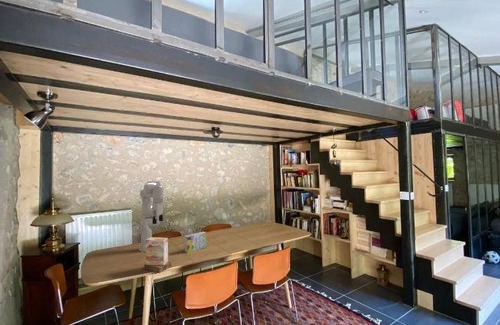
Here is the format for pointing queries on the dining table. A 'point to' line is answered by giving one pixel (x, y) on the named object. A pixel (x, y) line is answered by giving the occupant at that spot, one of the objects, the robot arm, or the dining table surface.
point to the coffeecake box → (156, 251)
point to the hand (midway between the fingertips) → (157, 222)
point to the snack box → (194, 242)
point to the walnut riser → (157, 267)
